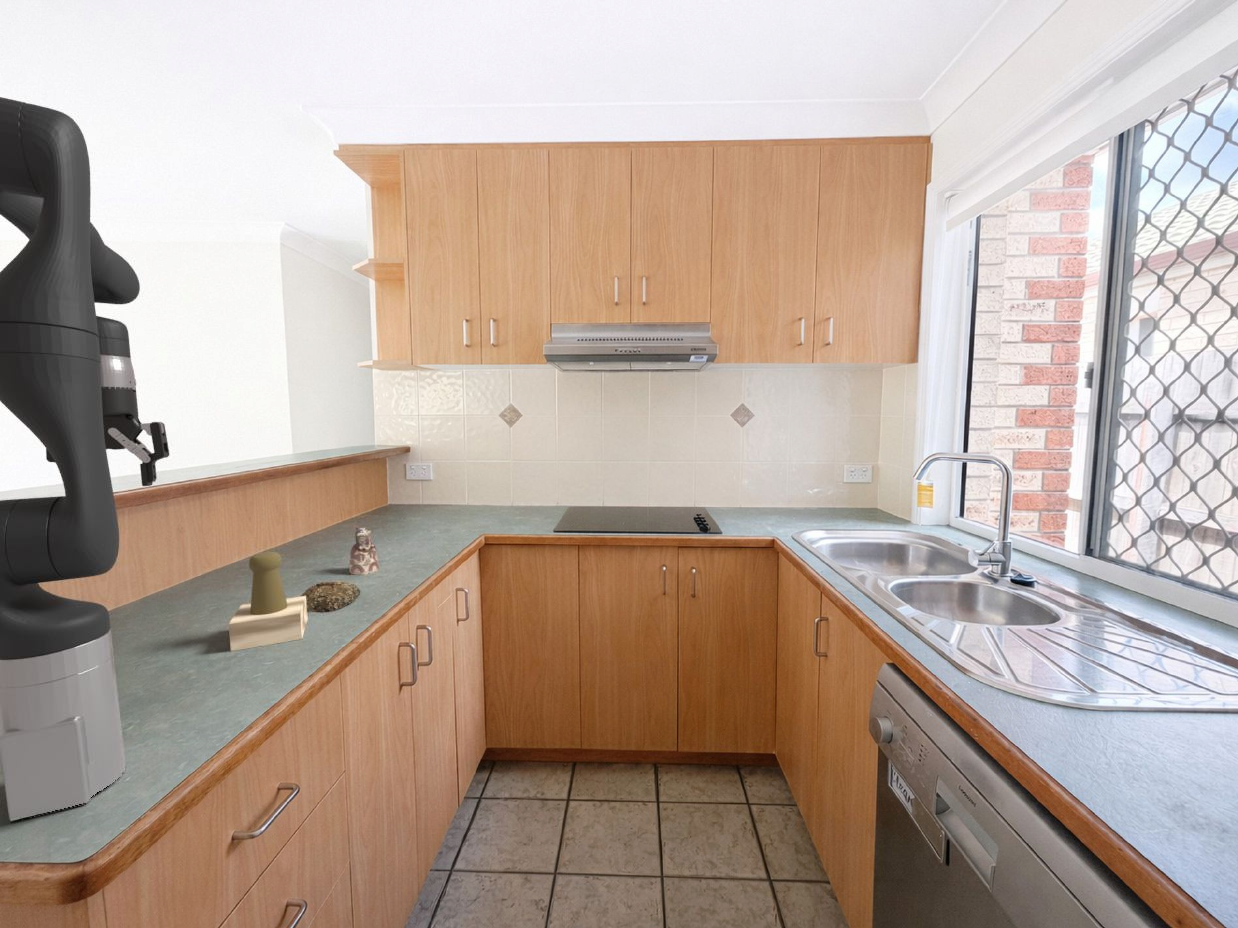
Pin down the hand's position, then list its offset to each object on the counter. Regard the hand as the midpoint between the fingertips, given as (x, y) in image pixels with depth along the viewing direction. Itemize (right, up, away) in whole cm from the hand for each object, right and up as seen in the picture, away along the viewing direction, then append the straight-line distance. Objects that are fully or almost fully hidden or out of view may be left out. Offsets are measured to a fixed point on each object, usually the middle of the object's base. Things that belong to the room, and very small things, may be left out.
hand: (113, 487), depth 85 cm
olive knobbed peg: (+14, -24, +16) cm, 33 cm away
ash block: (+14, -29, +17) cm, 37 cm away
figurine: (+12, -25, +58) cm, 65 cm away
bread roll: (+15, -28, +34) cm, 47 cm away
